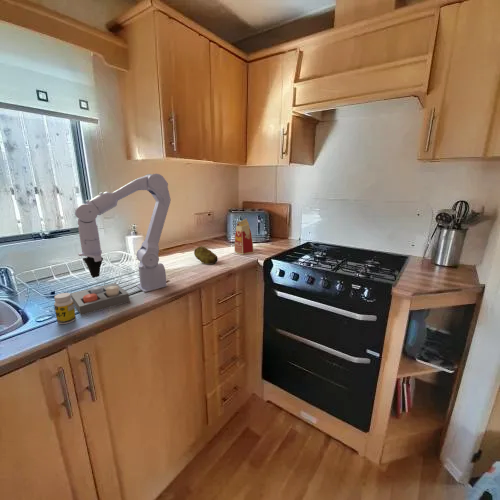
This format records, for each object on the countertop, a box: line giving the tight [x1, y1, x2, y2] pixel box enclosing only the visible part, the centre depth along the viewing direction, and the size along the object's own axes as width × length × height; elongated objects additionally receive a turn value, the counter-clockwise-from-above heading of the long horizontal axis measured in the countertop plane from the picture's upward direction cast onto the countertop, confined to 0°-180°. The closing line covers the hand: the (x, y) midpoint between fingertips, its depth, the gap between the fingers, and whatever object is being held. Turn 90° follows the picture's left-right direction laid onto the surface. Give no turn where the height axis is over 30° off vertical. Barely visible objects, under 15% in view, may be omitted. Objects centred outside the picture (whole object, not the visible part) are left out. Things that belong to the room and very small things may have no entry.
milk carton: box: [234, 217, 254, 255], centre depth 159 cm, size 9×9×20 cm
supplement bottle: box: [53, 292, 77, 325], centre depth 82 cm, size 5×5×8 cm
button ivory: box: [106, 286, 119, 297], centre depth 96 cm, size 4×4×3 cm
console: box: [69, 282, 130, 316], centre depth 96 cm, size 15×14×3 cm
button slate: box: [89, 285, 104, 294], centre depth 98 cm, size 4×4×3 cm
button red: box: [83, 294, 98, 303], centre depth 92 cm, size 4×4×3 cm
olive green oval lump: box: [193, 246, 219, 265], centre depth 141 cm, size 8×13×8 cm, turn 43°
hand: (95, 276), depth 98 cm, fingers closed
